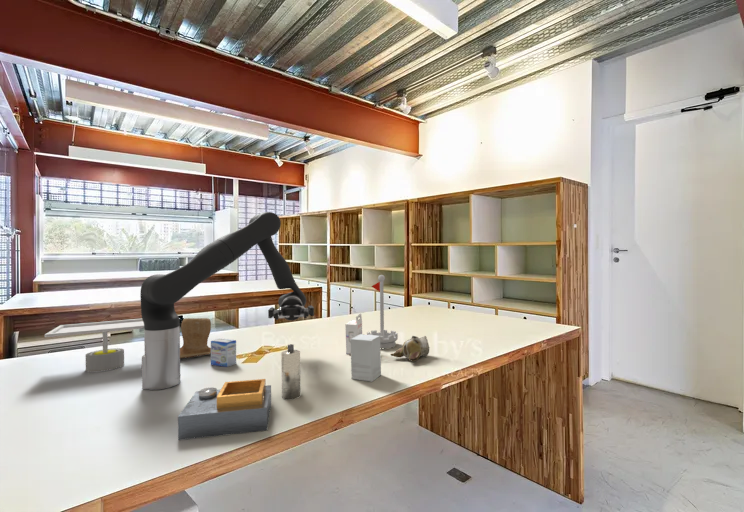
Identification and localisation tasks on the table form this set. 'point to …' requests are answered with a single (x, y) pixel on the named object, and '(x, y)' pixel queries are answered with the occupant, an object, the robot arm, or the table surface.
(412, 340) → the ceramic sculpture
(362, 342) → the supplement box
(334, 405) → the table surface
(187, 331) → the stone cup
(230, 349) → the medicine box
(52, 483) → the table surface
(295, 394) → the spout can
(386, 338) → the flag stand
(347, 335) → the ink cartridge box
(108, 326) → the solar panel model
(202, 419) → the grey base with tray
